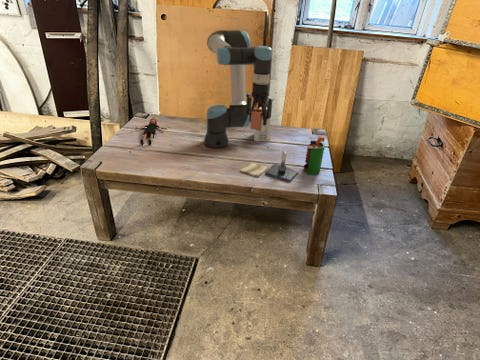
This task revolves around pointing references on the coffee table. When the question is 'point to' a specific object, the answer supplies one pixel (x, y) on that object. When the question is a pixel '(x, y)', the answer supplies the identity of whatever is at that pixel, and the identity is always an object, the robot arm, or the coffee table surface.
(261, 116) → the square copper sleeve
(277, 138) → the coffee table surface
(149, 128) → the woman figure
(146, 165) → the coffee table surface
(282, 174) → the grey peg stand
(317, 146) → the motor
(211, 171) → the coffee table surface
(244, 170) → the plywood pad
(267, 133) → the grater
